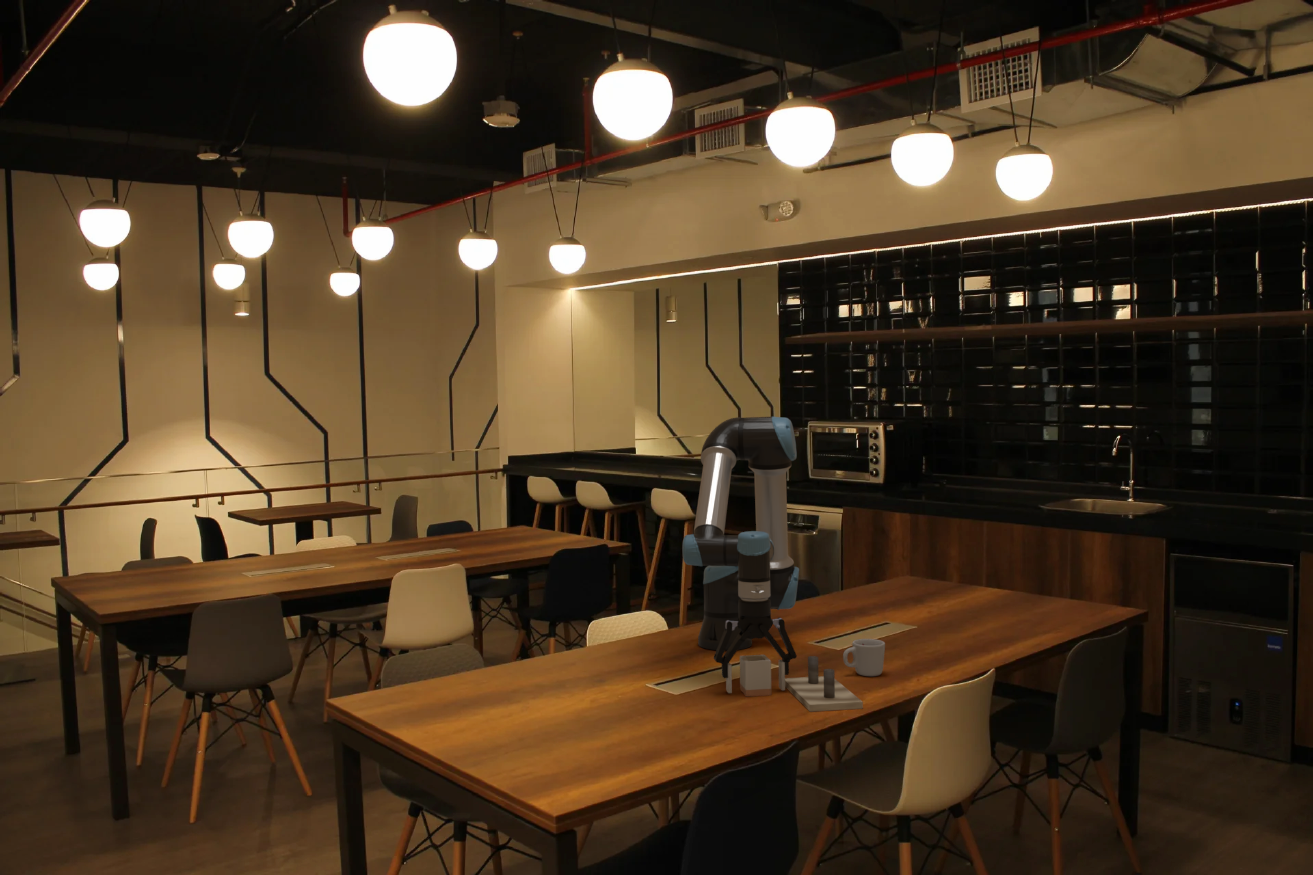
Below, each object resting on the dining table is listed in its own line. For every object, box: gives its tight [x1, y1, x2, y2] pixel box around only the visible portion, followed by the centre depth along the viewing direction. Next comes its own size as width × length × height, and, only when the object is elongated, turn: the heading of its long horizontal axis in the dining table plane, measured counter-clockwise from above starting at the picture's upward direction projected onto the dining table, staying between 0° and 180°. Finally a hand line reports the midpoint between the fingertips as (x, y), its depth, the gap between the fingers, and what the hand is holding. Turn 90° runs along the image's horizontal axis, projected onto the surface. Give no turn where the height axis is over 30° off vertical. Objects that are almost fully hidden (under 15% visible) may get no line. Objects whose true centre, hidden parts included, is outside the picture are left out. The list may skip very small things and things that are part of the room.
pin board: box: [785, 655, 864, 712], centre depth 230 cm, size 22×12×8 cm, turn 8°
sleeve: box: [739, 654, 772, 697], centre depth 234 cm, size 6×6×8 cm
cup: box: [842, 638, 886, 677], centre depth 248 cm, size 11×8×8 cm
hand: (755, 690), depth 234 cm, fingers open, 12 cm apart
